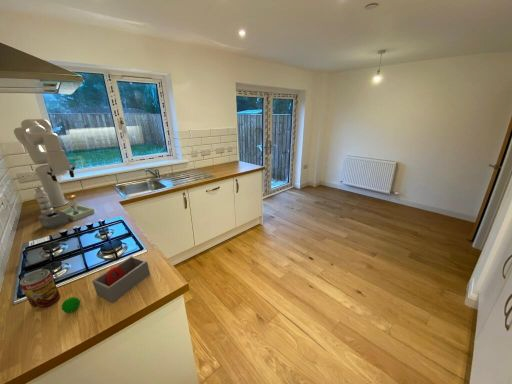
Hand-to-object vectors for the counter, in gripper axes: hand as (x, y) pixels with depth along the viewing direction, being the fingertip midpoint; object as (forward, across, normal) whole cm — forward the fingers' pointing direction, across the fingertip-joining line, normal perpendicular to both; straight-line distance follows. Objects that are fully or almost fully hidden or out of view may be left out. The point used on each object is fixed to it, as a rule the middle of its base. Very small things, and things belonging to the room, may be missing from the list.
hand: (64, 179), depth 143 cm
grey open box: (+24, +31, +95) cm, 103 cm away
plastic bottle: (+27, +8, -17) cm, 33 cm away
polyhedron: (+24, +47, +89) cm, 104 cm away
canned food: (+25, +49, +76) cm, 94 cm away
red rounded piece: (+24, +30, +93) cm, 101 cm away
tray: (+26, 0, +1) cm, 26 cm away
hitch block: (+26, +14, +5) cm, 30 cm away
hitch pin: (+26, 0, +1) cm, 26 cm away
